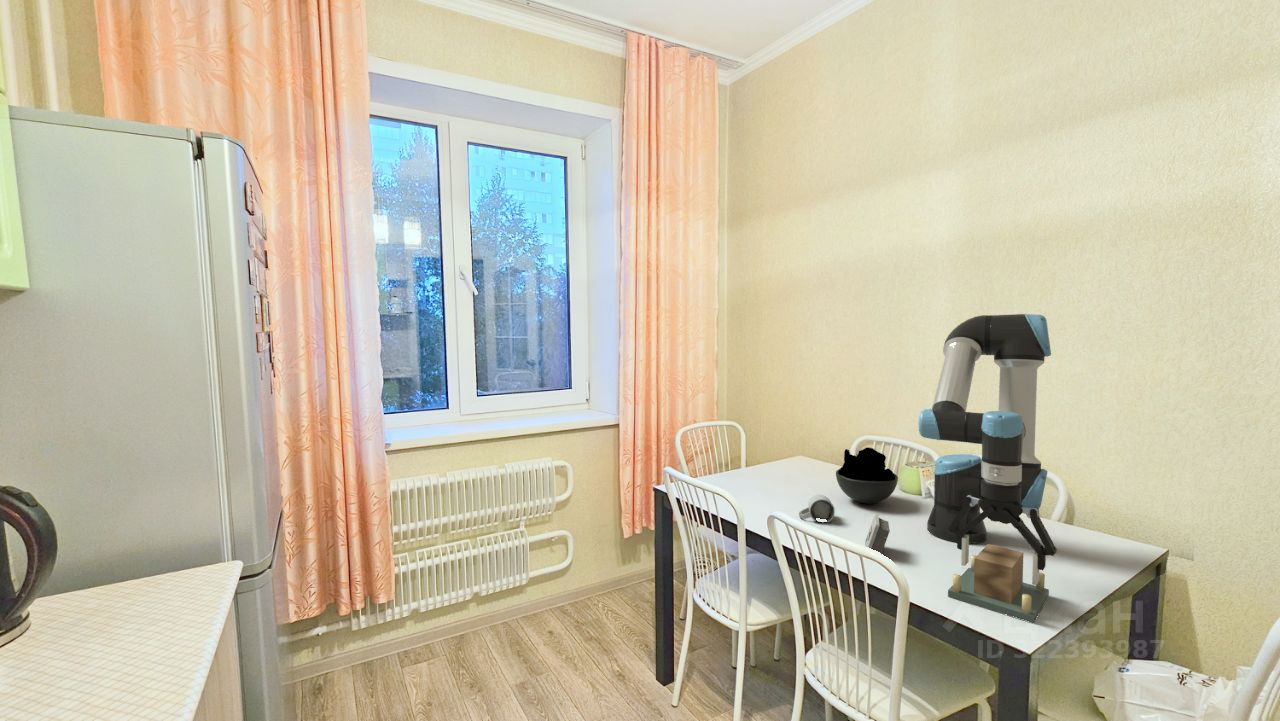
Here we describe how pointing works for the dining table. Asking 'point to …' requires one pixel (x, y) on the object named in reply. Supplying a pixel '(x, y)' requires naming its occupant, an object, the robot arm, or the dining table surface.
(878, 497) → the bowl of black rocks
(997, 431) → the robot arm
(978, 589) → the walnut block
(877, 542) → the electrical switch
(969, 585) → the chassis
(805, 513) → the ceramic mug
